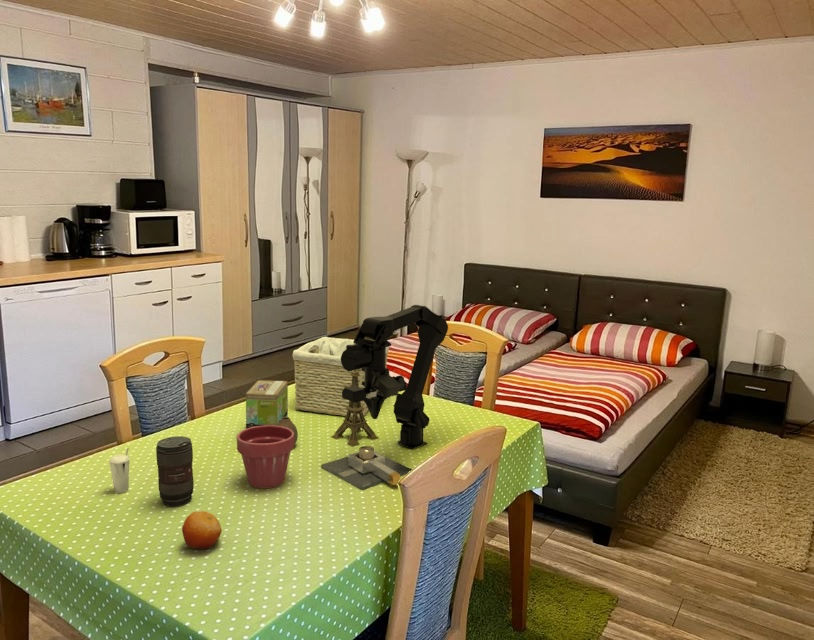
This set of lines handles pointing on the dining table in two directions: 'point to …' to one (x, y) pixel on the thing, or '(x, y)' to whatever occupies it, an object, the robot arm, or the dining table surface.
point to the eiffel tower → (354, 419)
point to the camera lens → (175, 470)
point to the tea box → (266, 403)
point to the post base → (356, 477)
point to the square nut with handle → (374, 467)
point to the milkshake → (120, 472)
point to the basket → (324, 377)
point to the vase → (289, 426)
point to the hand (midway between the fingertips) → (374, 418)
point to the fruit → (201, 530)
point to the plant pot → (265, 454)
